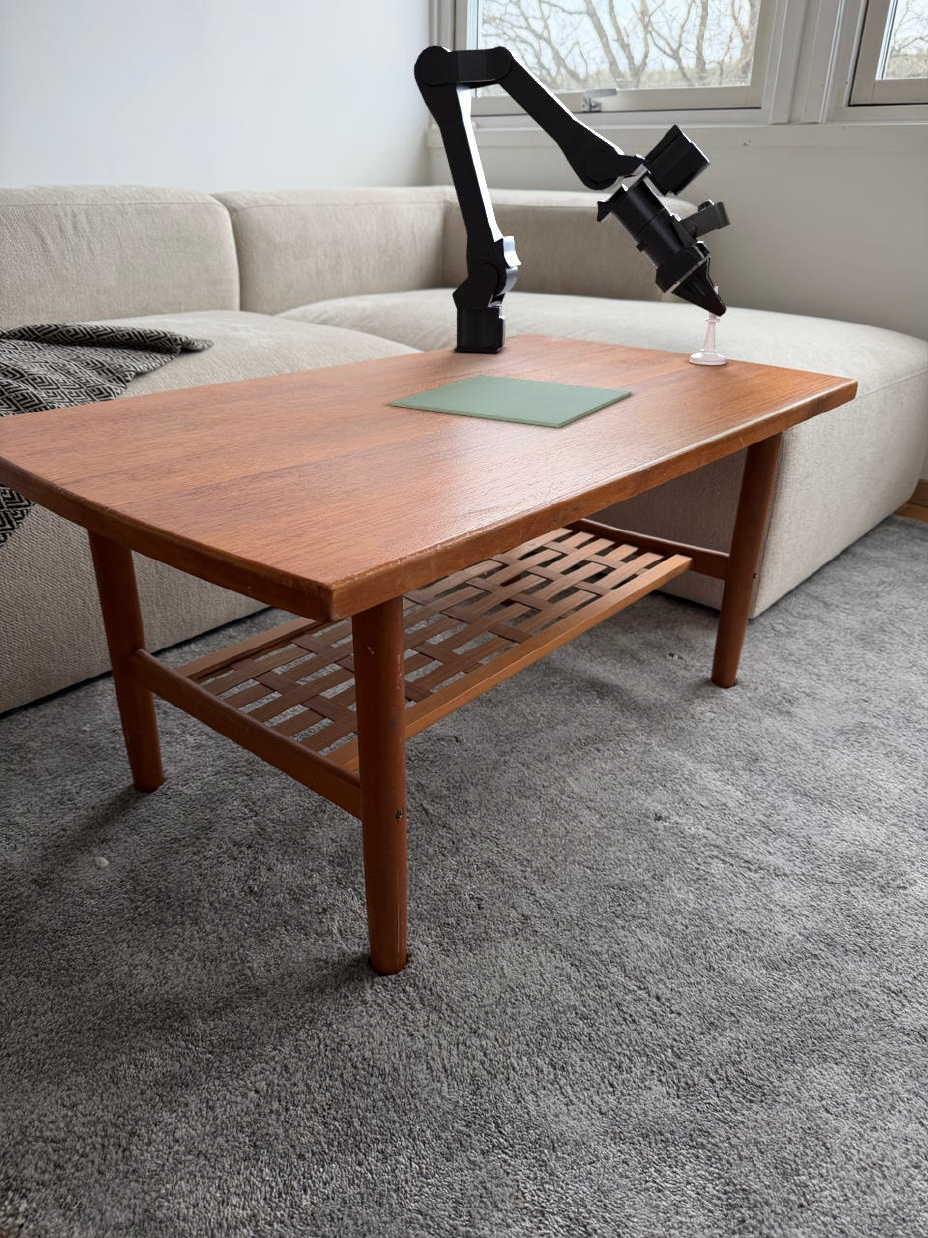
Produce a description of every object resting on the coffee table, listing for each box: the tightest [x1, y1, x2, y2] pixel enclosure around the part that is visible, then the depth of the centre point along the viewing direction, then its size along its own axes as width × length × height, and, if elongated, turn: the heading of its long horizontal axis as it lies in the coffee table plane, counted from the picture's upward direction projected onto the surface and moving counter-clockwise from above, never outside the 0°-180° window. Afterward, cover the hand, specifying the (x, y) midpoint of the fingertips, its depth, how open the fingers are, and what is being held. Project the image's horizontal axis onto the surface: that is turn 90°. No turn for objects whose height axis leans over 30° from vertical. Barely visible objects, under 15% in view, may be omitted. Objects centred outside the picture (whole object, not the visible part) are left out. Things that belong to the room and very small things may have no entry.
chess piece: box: [689, 285, 727, 366], centre depth 125 cm, size 5×5×10 cm
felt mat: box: [390, 374, 632, 428], centre depth 102 cm, size 20×20×1 cm
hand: (723, 313), depth 124 cm, fingers closed
